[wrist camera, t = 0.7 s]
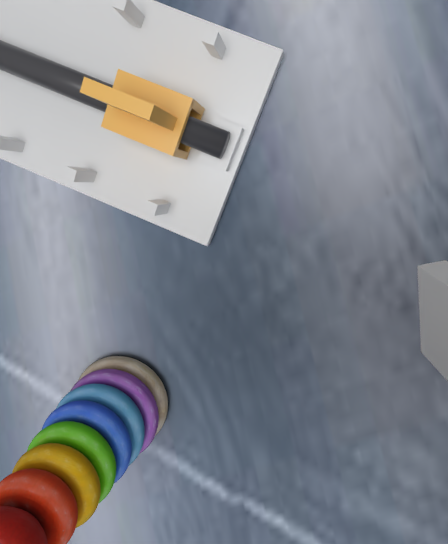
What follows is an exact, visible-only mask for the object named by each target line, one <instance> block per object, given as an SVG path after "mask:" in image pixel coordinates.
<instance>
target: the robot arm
mask: <svg viewBox="0 0 448 544" xmlns="http://www.w3.org/2000/svg"><path fill="white" fill-rule="evenodd" d="M417 267H418V292H419V316H420V341H421V353H422V354H423V355H424V356H425V357H426V358H427V359H428V360H429V361H430V362H431V364H432V365H433V366H434V367H435V368H436V369H437V370H438V371H439V372H440V373H441V374H442V375H443V377H444V378H445V379H446V380H447V381H448V261H446V260H444V261H438V262H433V263H428V264H423V265H417Z"/></svg>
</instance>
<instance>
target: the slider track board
mask: <svg viewBox="0 0 448 544" xmlns="http://www.w3.org/2000/svg"><path fill="white" fill-rule="evenodd" d="M283 56H284V54H283V50H282V49H279V48H277V47H274V46H272V45H269V44H266V43H264V42H261V41H258V40H256V39H253V38H251V37H248V36H245V35H243V34H240V33H238V32H235V31H232V30H230V29H227V28H224V27H222V26H219V25H217V24H214V23H211V22H209V21H206V20H203V19H201V18H198V17H196V16H193V15H190V14H188V13H185V12H182V11H180V10H177V9H175V8H172V7H169V6H167V5H164V4H161V3H159V2H156V1H154V0H0V158H1V159H3V160H5V161H8V162H10V163H12V164H15V165H17V166H19V167H22V168H24V169H26V170H29V171H31V172H33V173H36V174H38V175H41V176H43V177H45V178H48V179H50V180H52V181H55V182H57V183H59V184H62V185H64V186H66V187H69V188H71V189H74V190H76V191H78V192H81V193H83V194H85V195H88V196H90V197H92V198H95V199H97V200H99V201H102V202H104V203H106V204H109V205H111V206H114V207H116V208H118V209H121V210H123V211H125V212H128V213H130V214H132V215H135V216H137V217H139V218H142V219H144V220H147V221H149V222H151V223H154V224H156V225H158V226H161V227H163V228H165V229H168V230H170V231H172V232H175V233H177V234H179V235H182V236H184V237H187V238H189V239H191V240H194V241H196V242H198V243H201V244H203V245H205V246H208V245H209V244H210V243H211V240H212V238H213V235H214V233H215V230H216V227H217V225H218V222H219V220H220V217H221V215H222V212H223V209H224V207H225V204H226V202H227V199H228V197H229V194H230V192H231V189H232V186H233V184H234V181H235V179H236V176H237V174H238V171H239V168H240V166H241V163H242V161H243V158H244V156H245V153H246V151H247V148H248V145H249V143H250V140H251V138H252V135H253V133H254V130H255V128H256V125H257V122H258V120H259V117H260V115H261V112H262V110H263V107H264V104H265V102H266V99H267V97H268V94H269V92H270V89H271V87H272V84H273V81H274V79H275V76H276V74H277V71H278V69H279V66H280V63H281V61H282V58H283ZM118 69H120V70H123V71H125V72H128V73H130V74H133V75H135V76H138V77H140V78H143V79H146V80H148V81H151V82H153V83H156V84H158V85H161V86H163V87H166V88H168V89H171V90H173V91H176V92H178V93H181V94H183V95H186V96H188V97H191V98H193V99H194V100H195V101H197V102H198V103H199V104H200V105H201V106H202V107H203V108H205V110H204V113H203V116H202V118H201V120H199V119H196V118H194V117H191V116H189V118H188V121H187V124H186V127H185V130H184V132H183V135H182V138H181V141H180V143H182V144H184V145H187V146H189V147H191V149H190V152H189V155H188V158H187V160H186V159H182V158H178V157H174V156H171V155H169V154H166V153H164V152H161V151H159V150H157V149H154V148H152V147H149V146H147V145H144V144H142V143H139V142H137V141H135V140H132V139H130V138H127V137H125V136H122V135H120V134H117V133H115V132H113V131H110V130H108V129H105V128H103V127H101V124H102V121H103V118H104V114H105V111H106V108H107V104H106V103H103V102H101V101H99V100H96V99H94V98H92V97H90V96H87V95H85V94H83V93H81V92H80V89H81V86H82V82H83V79H84V77H86V78H89V79H91V80H94V81H96V82H99V83H101V84H104V85H106V86H109V87H111V88H113V84H114V81H115V78H116V74H117V71H118Z"/></svg>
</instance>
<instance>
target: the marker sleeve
mask: <svg viewBox="0 0 448 544" xmlns="http://www.w3.org/2000/svg"><path fill="white" fill-rule="evenodd" d="M80 92H81V93H83V94H85V95H87V96H90V97H92V98H94V99H96V100H99V101H101V102H103V103H106V104H107V108H106V111H105V114H104V118H103V121H102V124H101V127H103V128H105V129H108V130H110V131H113V132H115V133H117V134H120V135H122V136H125V137H127V138H130V139H132V140H135V141H137V142H139V143H142V144H144V145H147V146H149V147H152V148H154V149H157V150H159V151H161V152H164V153H166V154H169V155H171V156H174V157H178V158H182V159H186V160H187V158H188V155H189V152H190V149H191V147H189V146H187V145H184V144H182V143H180V141H181V138H182V135H183V132H184V130H185V127H186V124H187V121H188V118H189V116H191V117H194V118H196V119H199V120H201V118H202V116H203V113H204V110H205V108H203V107H202V106H201V105H200V104H199V103H198V102H197V101H195V100H194V99H193V98H191V97H188V96H186V95H183V94H181V93H178V92H176V91H173V90H171V89H168V88H166V87H163V86H161V85H158V84H156V83H153V82H151V81H148V80H146V79H143V78H140V77H138V76H135V75H133V74H130V73H128V72H125V71H123V70H120V69H118V71H117V74H116V78H115V81H114V84H113V88H111V87H109V86H106V85H104V84H101V83H99V82H96V81H94V80H91V79H89V78H86V77H84V79H83V82H82V86H81V89H80Z"/></svg>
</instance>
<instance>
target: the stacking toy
mask: <svg viewBox="0 0 448 544" xmlns="http://www.w3.org/2000/svg"><path fill="white" fill-rule="evenodd" d="M167 411H168V398H167V393H166V390H165V387H164V385H163V383H162V381H161V380H160V378H159V377H158V376H157V374H156V373H155V372H154V371H153V370H152V369H151V368H149V367H148V366H147V365H145V364H144V363H142V362H140V361H138V360H136V359H133V358H129V357H124V356H111V357H106V358H103V359H100V360H98V361H96V362H94V363H93V364H91V365H90V366H89V367H88V368H87V369H86V370H85V371H84V372H83V373H82V375H81V376H80V378H79V380H78V382H77V383H76V384H75V385H74V386H73V388H72V389H71V391H70V392H69V393H68V394H67V395H66V396H65V397H64V398H63V399H62V400H61V401H60V403H59V404H58V406H57V408H56V410H54V411H53V412H52V413H51V414H50V415H49V417H48V418H47V419H46V421H45V423H44V425H43V427H42V430H41V431H40V432H39V433H38V434H37V435H36V436H35V437H34V439H33V440H32V442H31V443H30V445H29V447H28V450H27V452H26V453H25V454H23V456H22V457H21V458H20V459H19V460H18V462H17V463H16V465H15V467H14V469H13V472H12V474H10V475H9V476H7V477H5V478H4V479H3V480H2V481H1V482H0V544H67V542H68V541H69V540H70V538H71V536H72V535H73V533H74V530H75V528H77V527H79V526H80V525H82V524H84V523H85V522H86V521H87V520H88V519H89V518H90V517H91V516H92V515H93V513H94V512H95V510H96V508H97V506H98V503H100V502H101V501H102V500H103V499H104V498H105V497H106V496H107V495H108V493H109V492H110V490H111V488H112V486H113V484H114V483H115V482H117V481H118V480H119V479H120V478H121V477H122V475H123V474H124V473H125V471H126V469H127V467H128V466H129V465H130V464H131V463H132V462H133V461H134V460H135V459H136V458H137V456H138V455H139V454H140V453H141V452H142V451H144V450H145V449H146V448H147V447H148V446H149V445H150V443H151V442H152V440H153V439H154V437H155V435H156V434H157V433H158V432H159V431H160V430H161V428H162V426H163V424H164V422H165V419H166V416H167Z"/></svg>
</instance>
